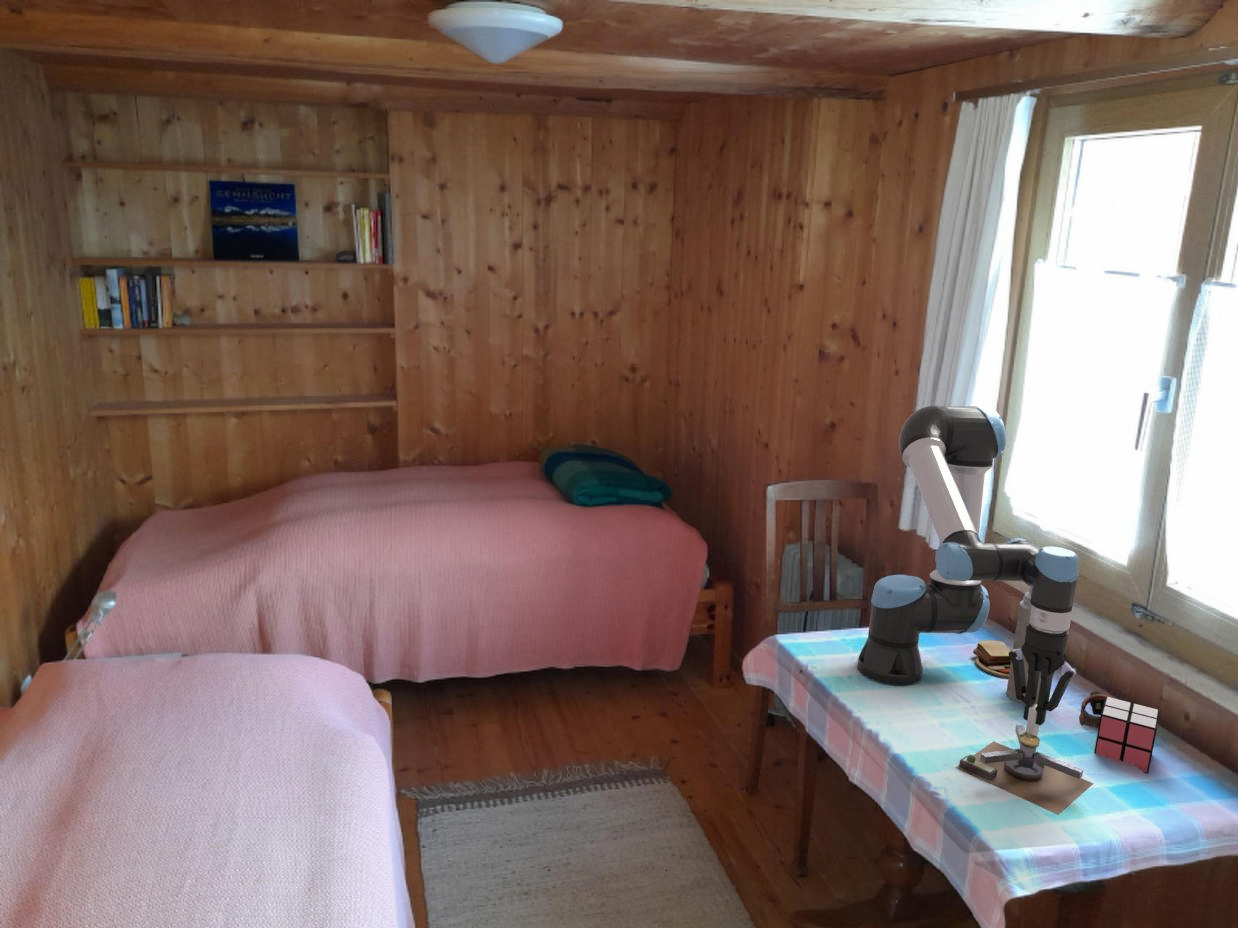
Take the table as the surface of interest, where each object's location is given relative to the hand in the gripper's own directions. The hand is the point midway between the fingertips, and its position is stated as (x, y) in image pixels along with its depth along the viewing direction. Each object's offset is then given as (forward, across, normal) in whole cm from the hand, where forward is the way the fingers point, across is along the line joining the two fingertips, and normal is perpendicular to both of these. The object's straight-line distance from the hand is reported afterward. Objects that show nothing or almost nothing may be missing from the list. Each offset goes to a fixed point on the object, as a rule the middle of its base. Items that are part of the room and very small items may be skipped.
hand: (1031, 736), depth 190 cm
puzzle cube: (+6, +12, +18) cm, 22 cm away
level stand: (+6, +3, -8) cm, 10 cm away
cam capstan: (+4, +2, -6) cm, 8 cm away
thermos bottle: (+6, -13, +28) cm, 32 cm away
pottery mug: (+6, +4, +28) cm, 29 cm away
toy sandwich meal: (+6, -25, +39) cm, 46 cm away
